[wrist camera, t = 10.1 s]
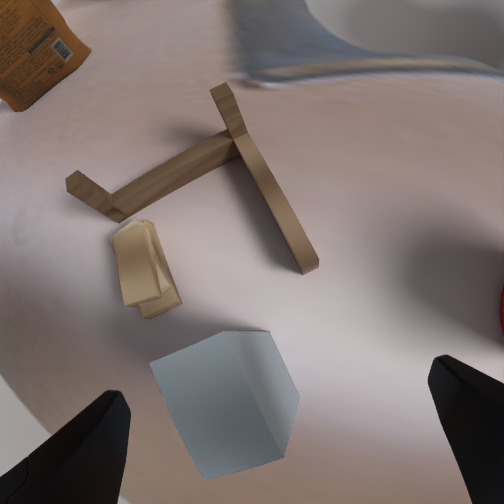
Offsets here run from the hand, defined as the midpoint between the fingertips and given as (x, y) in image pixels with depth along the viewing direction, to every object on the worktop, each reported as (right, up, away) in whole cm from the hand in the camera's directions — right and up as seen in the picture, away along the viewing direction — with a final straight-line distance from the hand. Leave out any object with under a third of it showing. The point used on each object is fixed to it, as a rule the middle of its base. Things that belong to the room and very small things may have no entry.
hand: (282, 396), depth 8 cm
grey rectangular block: (0, -4, +13) cm, 13 cm away
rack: (-4, +4, +16) cm, 17 cm away
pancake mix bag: (-31, +29, +28) cm, 51 cm away
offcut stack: (-9, +2, +16) cm, 18 cm away
